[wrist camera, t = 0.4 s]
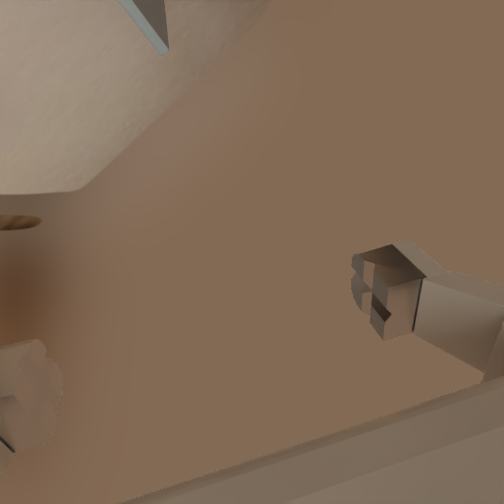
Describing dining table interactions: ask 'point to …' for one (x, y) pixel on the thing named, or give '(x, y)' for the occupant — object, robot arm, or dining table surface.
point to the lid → (149, 21)
